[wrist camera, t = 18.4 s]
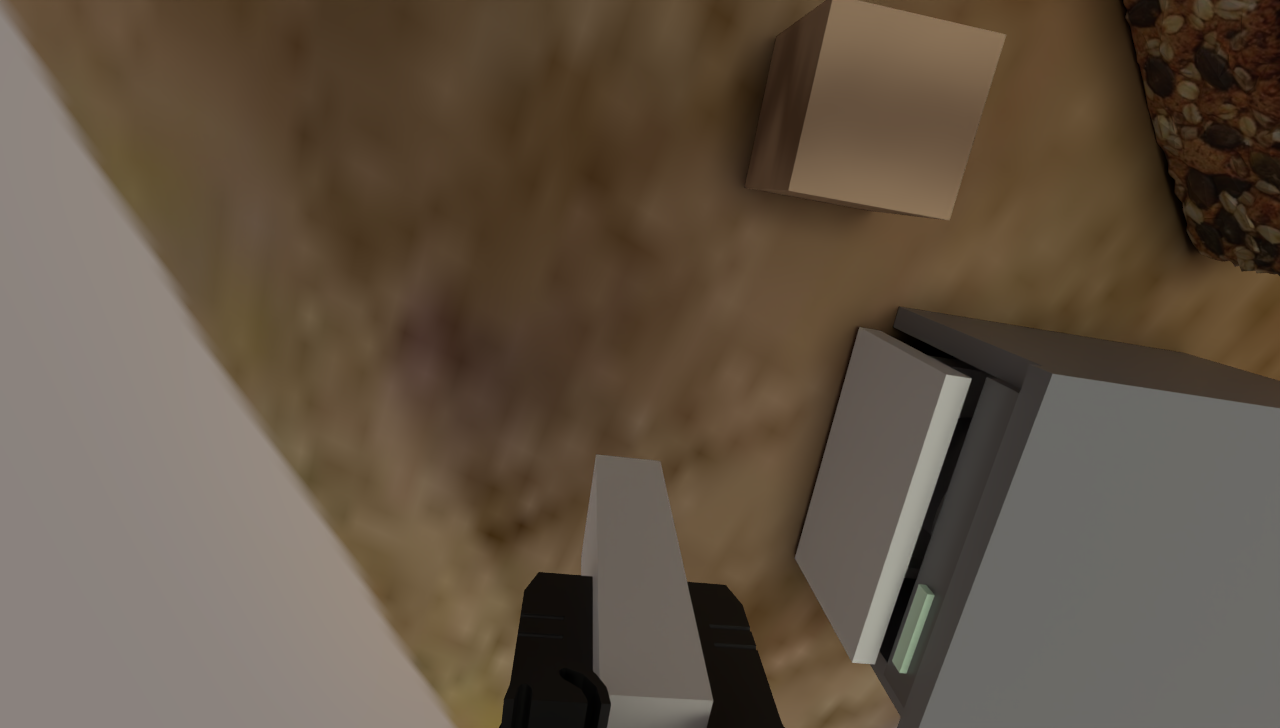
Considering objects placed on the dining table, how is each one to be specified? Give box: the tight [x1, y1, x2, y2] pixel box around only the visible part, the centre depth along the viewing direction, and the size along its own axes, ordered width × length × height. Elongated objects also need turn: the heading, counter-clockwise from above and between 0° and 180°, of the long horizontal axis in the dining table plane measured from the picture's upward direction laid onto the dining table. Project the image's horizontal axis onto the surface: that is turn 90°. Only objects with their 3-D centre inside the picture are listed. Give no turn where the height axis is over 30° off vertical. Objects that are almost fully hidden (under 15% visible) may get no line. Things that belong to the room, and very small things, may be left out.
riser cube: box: [744, 0, 1006, 220], centre depth 23 cm, size 6×6×6 cm
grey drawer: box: [795, 327, 999, 664], centre depth 28 cm, size 13×16×7 cm
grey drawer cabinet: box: [870, 307, 1280, 728], centre depth 27 cm, size 15×16×10 cm
